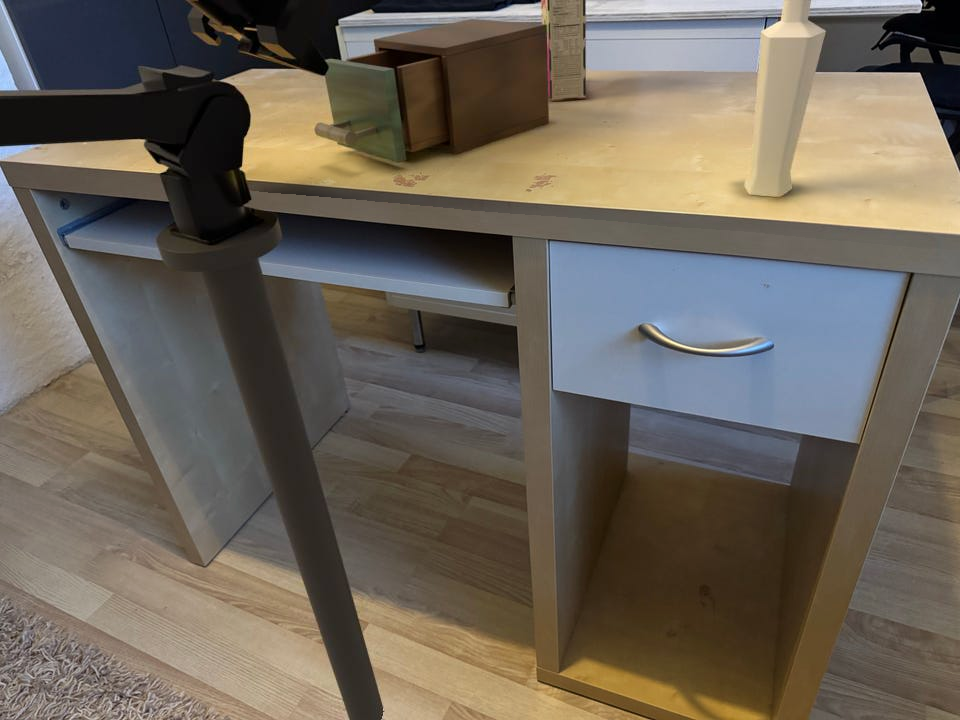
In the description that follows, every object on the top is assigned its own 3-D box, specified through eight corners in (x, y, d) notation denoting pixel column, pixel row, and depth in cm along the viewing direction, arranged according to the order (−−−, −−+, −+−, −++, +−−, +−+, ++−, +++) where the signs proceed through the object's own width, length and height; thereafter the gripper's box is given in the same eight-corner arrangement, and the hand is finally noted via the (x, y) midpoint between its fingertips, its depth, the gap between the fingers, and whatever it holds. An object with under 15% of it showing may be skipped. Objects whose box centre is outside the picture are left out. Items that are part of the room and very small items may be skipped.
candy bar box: (541, 84, 98) (538, -49, 89) (576, 81, 98) (576, -52, 89) (548, 102, 89) (545, -43, 80) (586, 99, 89) (588, -47, 80)
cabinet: (455, 154, 73) (445, 47, 68) (387, 136, 82) (373, 39, 76) (549, 122, 81) (547, 24, 75) (478, 108, 89) (471, 18, 83)
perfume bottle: (752, 176, 61) (780, -13, 53) (801, 185, 59) (839, -13, 50) (727, 191, 59) (752, -5, 50) (778, 201, 56) (813, -4, 48)
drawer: (365, 173, 68) (349, 79, 63) (307, 153, 75) (288, 67, 70) (494, 131, 77) (488, 45, 72) (430, 116, 84) (422, 38, 79)
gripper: (284, -151, 49) (422, 1, 61) (183, -127, 61) (315, -4, 73) (211, -13, 49) (363, 112, 61) (124, -17, 61) (266, 88, 73)
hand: (325, 71), depth 67 cm, fingers closed
